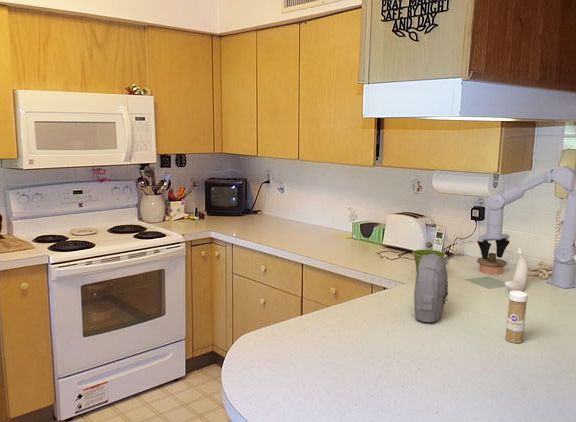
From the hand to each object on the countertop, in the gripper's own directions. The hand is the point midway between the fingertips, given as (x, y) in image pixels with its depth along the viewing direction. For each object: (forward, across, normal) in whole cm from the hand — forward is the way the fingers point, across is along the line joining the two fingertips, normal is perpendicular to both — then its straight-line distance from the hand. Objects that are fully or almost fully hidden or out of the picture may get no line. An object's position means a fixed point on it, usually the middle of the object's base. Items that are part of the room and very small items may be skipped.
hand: (492, 258), depth 204 cm
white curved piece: (+6, +10, +22) cm, 25 cm away
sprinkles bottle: (+6, +45, +54) cm, 71 cm away
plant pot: (+6, +33, +2) cm, 34 cm away
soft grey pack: (+6, +56, +33) cm, 65 cm away
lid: (+2, 0, 0) cm, 2 cm away
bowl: (+6, 0, 0) cm, 6 cm away
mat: (+6, +12, +11) cm, 17 cm away
